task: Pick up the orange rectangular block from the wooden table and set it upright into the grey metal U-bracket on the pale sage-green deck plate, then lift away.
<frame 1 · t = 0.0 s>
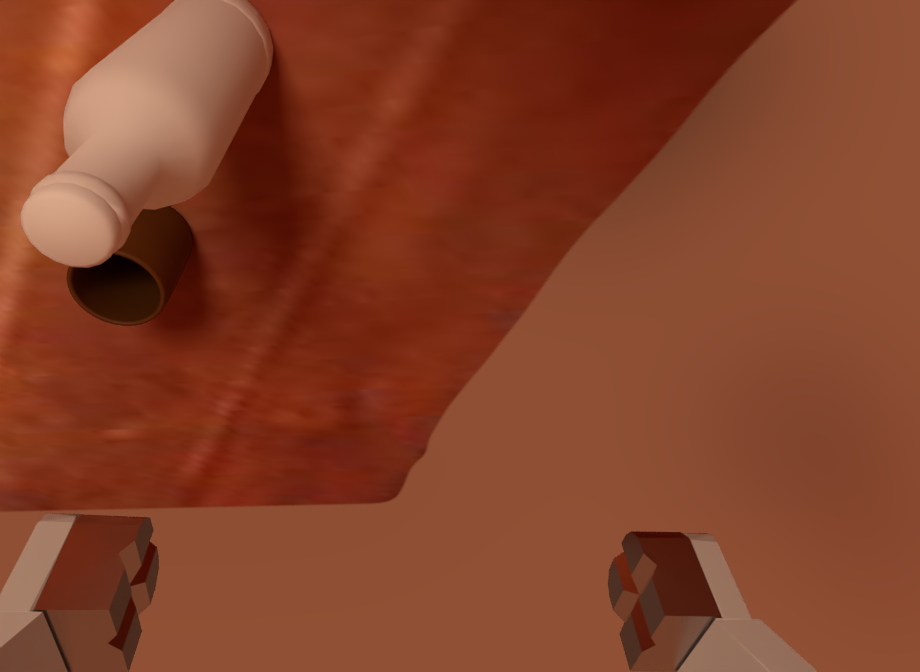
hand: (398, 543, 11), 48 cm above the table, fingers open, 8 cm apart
mug: (129, 215, 59), on the table
bottle: (222, 41, 51), on the table
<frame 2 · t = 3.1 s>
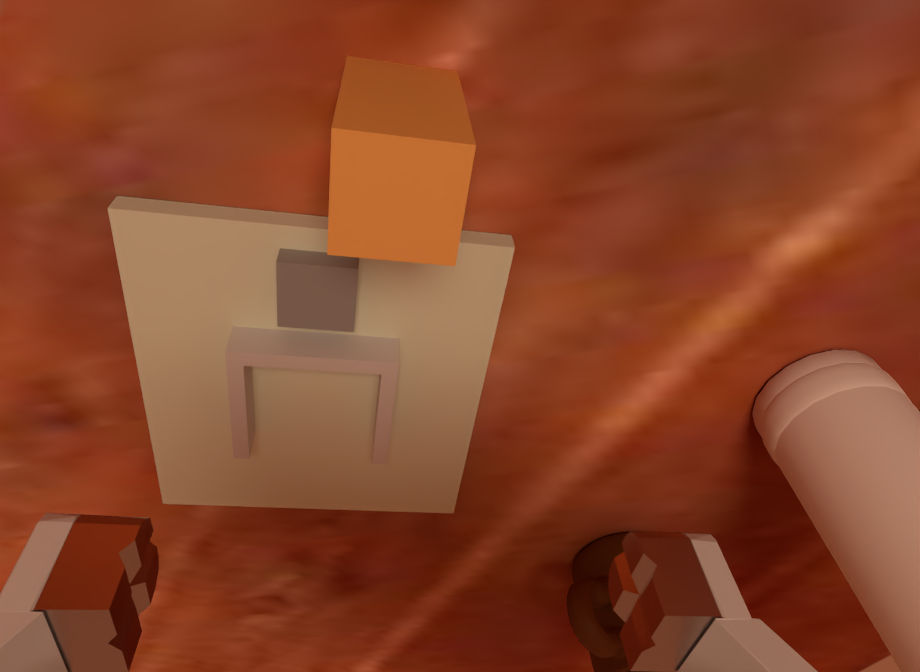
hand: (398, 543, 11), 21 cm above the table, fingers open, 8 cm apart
mount deck: (318, 377, 37), on the table
orange rectangular block: (397, 118, 28), on the table
mug: (601, 544, 49), on the table
bottle: (812, 394, 41), on the table
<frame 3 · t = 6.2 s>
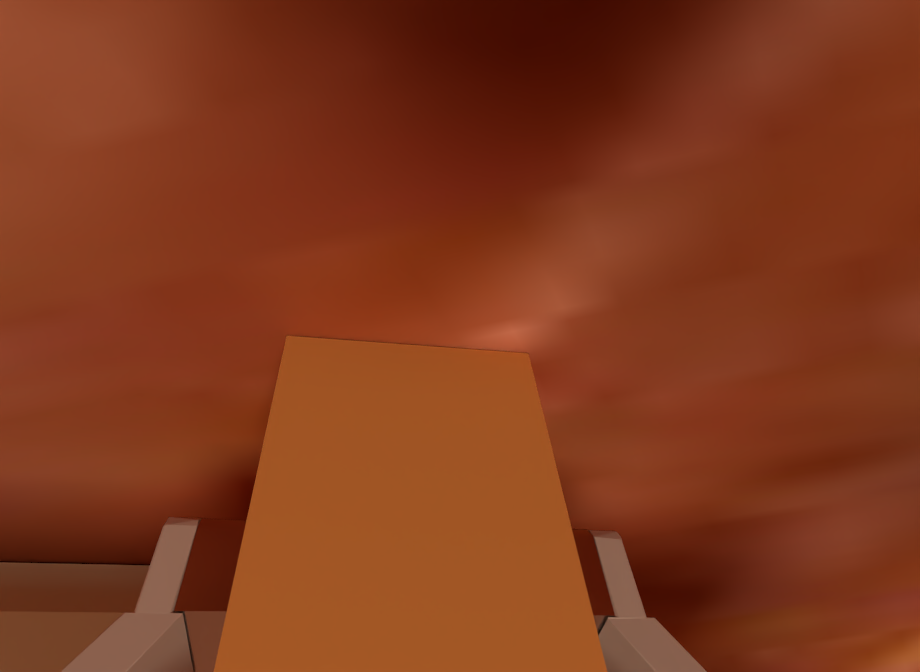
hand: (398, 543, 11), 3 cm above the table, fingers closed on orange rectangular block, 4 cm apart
orange rectangular block: (399, 429, 14), on the table, touching gripper
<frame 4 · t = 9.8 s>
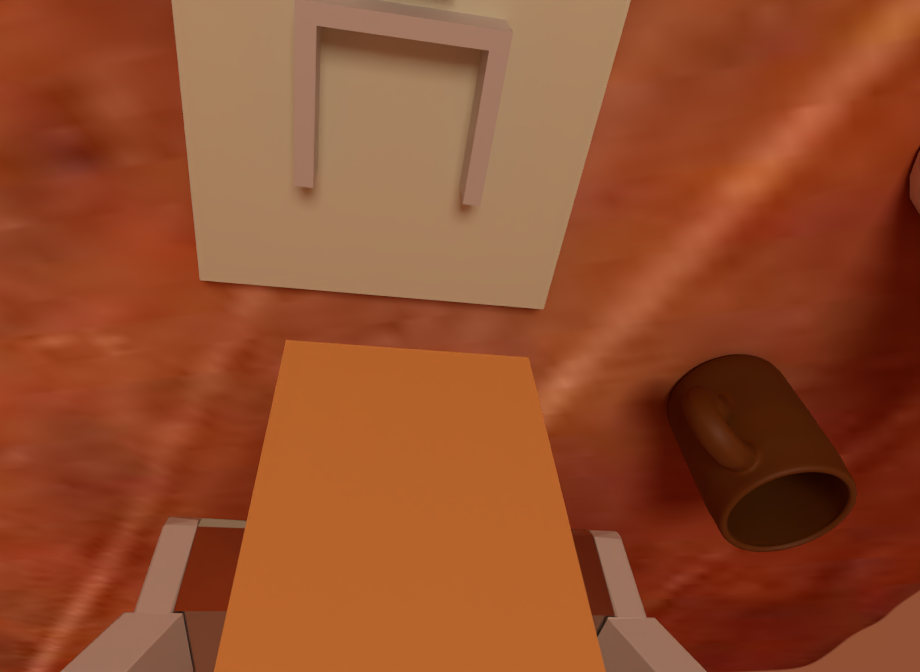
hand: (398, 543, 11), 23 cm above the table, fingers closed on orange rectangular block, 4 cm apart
mount deck: (396, 97, 30), on the table
orange rectangular block: (399, 433, 14), point 21 cm above the table, touching gripper
mug: (703, 374, 42), on the table
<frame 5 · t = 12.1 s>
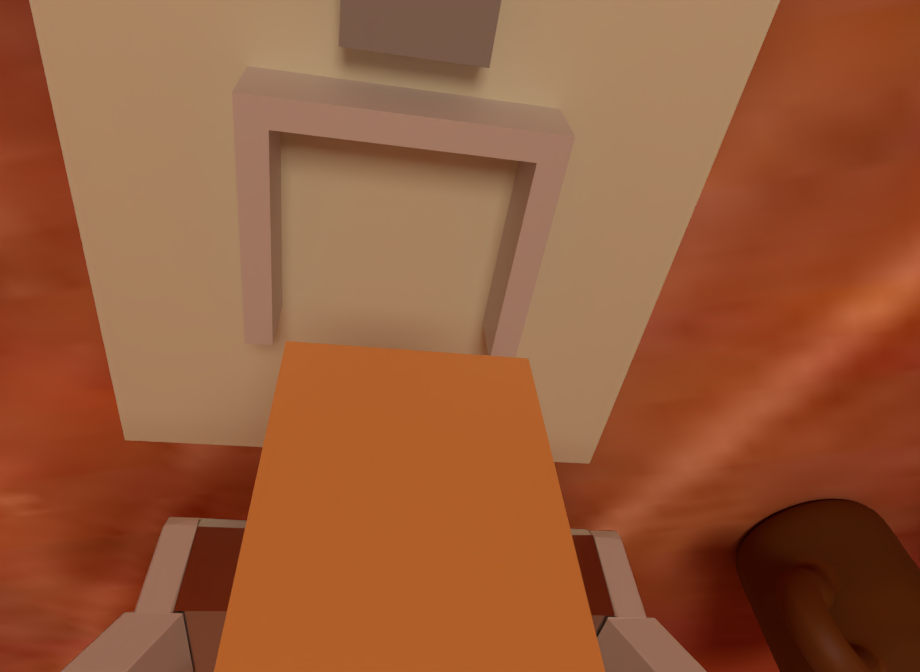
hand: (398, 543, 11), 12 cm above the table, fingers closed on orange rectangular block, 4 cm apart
mount deck: (394, 207, 21), on the table
orange rectangular block: (398, 434, 14), point 9 cm above the table, touching gripper
mug: (783, 519, 33), on the table
when the fingers open (6 cm above the table, at t = 13.8 s): orange rectangular block drops 2 cm, resting on mount deck.
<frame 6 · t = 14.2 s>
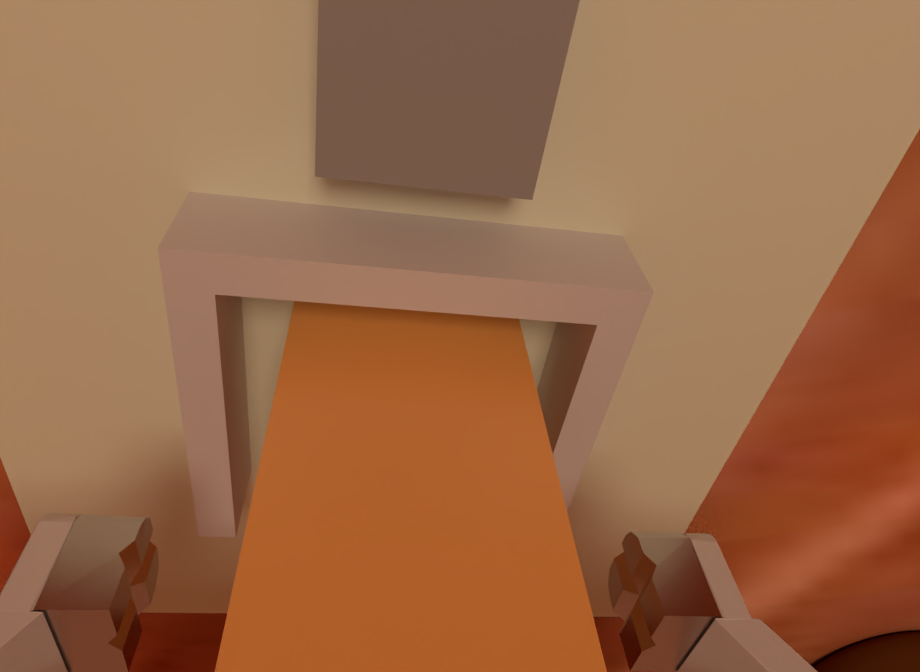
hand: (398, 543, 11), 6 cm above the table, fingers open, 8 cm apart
mount deck: (396, 344, 16), on the table
orange rectangular block: (398, 378, 15), point 1 cm above the table, touching mount deck
mug: (854, 649, 28), on the table
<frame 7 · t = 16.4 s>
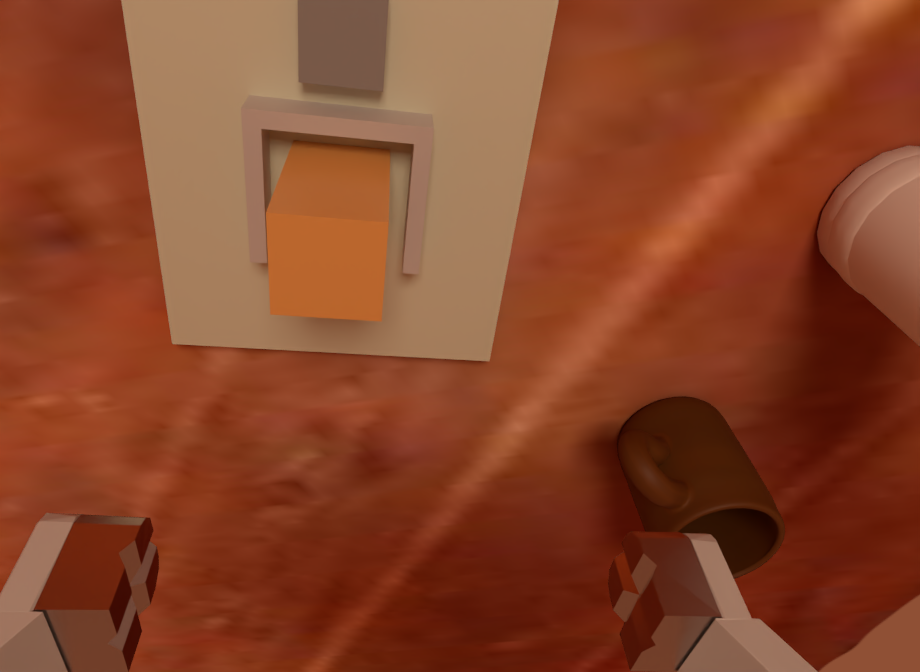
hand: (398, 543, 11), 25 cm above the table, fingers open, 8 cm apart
mount deck: (341, 180, 33), on the table
orange rectangular block: (341, 189, 32), point 1 cm above the table, touching mount deck
mug: (648, 416, 45), on the table
bottle: (883, 210, 37), on the table
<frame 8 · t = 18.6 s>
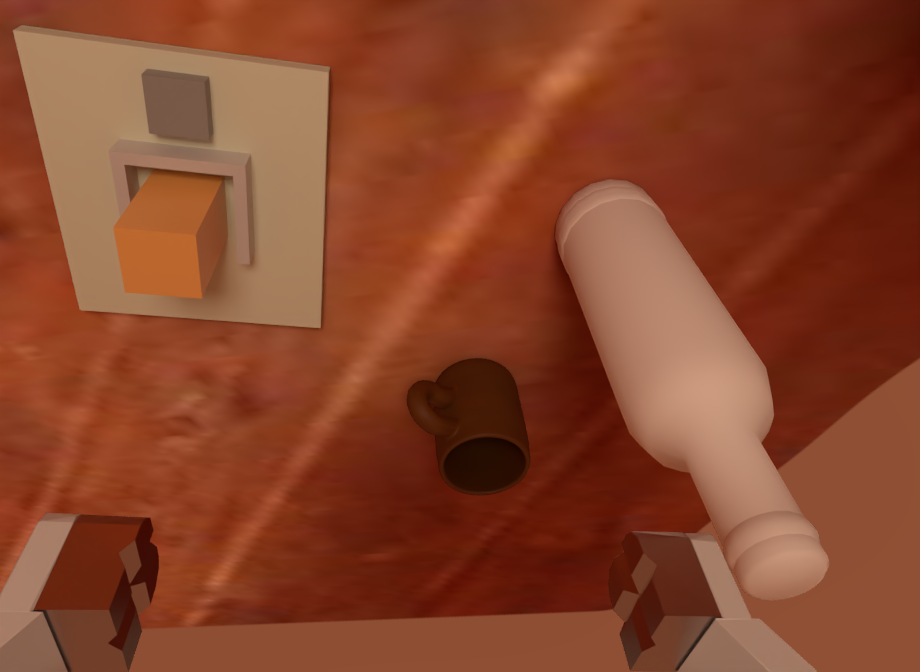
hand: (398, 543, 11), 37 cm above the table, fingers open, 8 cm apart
mount deck: (195, 195, 46), on the table
orange rectangular block: (192, 203, 45), point 1 cm above the table, touching mount deck
mug: (457, 373, 59), on the table
bottle: (603, 224, 51), on the table
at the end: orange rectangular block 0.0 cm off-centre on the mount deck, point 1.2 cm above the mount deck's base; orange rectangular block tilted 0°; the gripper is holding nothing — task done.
